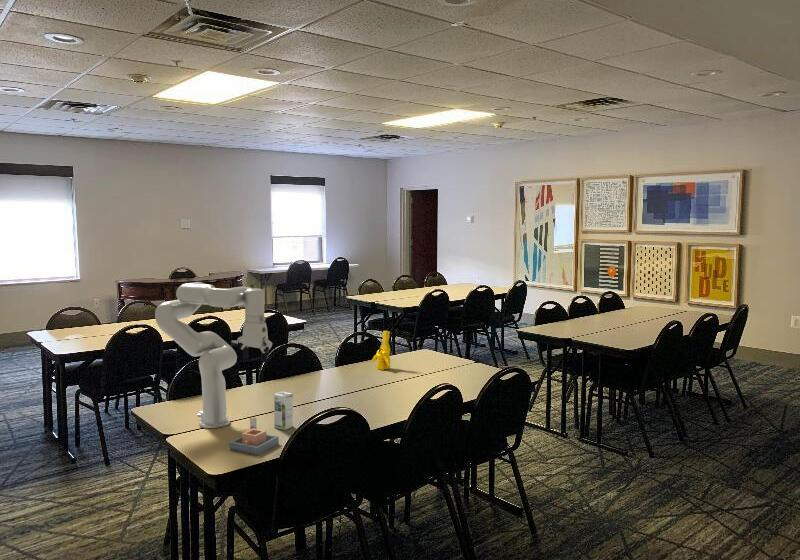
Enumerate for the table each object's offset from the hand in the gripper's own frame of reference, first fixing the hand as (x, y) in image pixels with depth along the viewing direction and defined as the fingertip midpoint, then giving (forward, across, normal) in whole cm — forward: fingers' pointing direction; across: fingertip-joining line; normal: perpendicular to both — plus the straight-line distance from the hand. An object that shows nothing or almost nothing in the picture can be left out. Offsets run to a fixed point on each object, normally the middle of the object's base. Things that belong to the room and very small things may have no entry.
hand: (254, 360), depth 248 cm
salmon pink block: (+28, -13, +15) cm, 34 cm away
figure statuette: (+29, +2, -114) cm, 117 cm away
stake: (+29, -2, +3) cm, 29 cm away
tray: (+29, -13, +15) cm, 35 cm away
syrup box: (+29, -9, -8) cm, 31 cm away
